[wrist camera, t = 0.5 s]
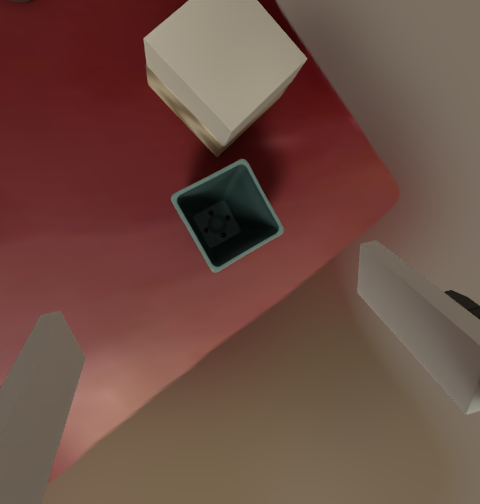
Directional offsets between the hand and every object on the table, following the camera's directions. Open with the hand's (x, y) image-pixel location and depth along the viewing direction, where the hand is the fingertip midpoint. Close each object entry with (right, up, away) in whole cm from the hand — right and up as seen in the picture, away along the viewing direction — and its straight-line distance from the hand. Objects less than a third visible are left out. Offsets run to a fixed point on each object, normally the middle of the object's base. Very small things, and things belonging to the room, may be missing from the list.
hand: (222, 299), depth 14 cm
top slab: (-1, +23, +23) cm, 32 cm away
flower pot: (-2, +6, +27) cm, 27 cm away
